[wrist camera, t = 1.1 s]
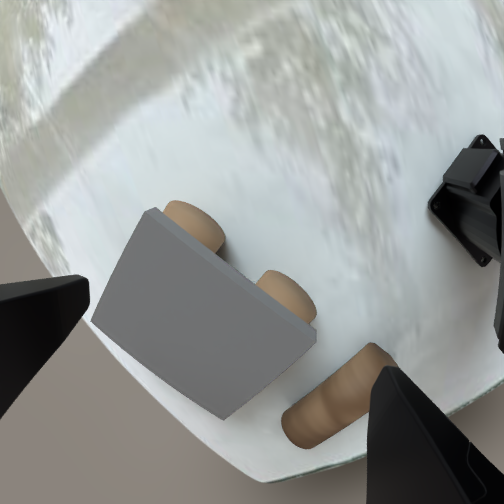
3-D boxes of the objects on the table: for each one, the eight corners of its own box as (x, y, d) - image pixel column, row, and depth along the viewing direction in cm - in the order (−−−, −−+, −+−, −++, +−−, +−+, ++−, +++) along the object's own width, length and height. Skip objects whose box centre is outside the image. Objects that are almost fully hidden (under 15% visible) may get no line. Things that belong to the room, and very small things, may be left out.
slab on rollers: (316, 298, 20) (316, 342, 16) (240, 374, 24) (223, 420, 19) (184, 196, 20) (144, 211, 15) (128, 290, 23) (90, 321, 18)
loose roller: (397, 359, 21) (408, 394, 17) (318, 420, 24) (317, 455, 20) (363, 333, 21) (371, 369, 17) (283, 401, 24) (278, 437, 20)
